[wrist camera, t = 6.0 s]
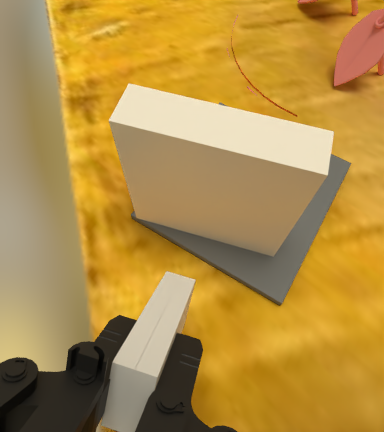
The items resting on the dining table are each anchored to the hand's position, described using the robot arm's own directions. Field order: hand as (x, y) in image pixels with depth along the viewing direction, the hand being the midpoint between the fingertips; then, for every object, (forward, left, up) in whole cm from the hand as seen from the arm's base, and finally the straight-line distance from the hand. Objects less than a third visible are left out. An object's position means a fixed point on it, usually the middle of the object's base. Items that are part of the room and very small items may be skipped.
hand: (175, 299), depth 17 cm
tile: (+2, -7, -5) cm, 9 cm away
